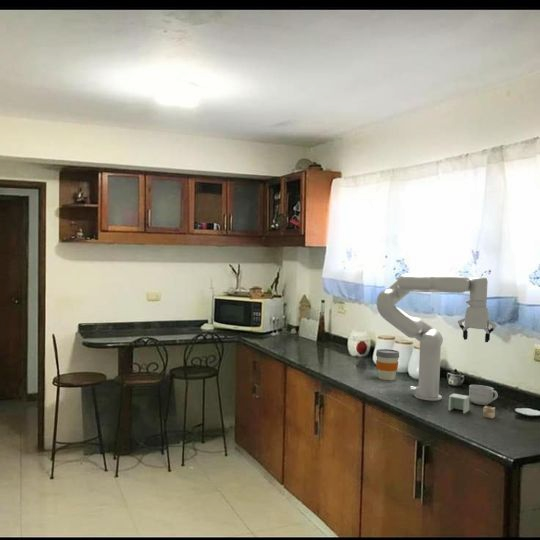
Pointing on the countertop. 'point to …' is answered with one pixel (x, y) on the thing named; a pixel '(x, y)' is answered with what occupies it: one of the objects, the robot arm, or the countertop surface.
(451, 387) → the countertop surface
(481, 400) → the teacup
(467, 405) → the toy fireplace
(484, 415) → the lettered cube
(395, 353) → the reusable coffee cup
